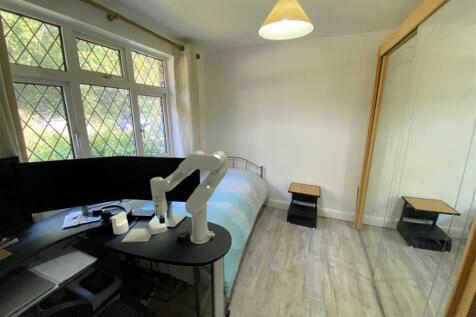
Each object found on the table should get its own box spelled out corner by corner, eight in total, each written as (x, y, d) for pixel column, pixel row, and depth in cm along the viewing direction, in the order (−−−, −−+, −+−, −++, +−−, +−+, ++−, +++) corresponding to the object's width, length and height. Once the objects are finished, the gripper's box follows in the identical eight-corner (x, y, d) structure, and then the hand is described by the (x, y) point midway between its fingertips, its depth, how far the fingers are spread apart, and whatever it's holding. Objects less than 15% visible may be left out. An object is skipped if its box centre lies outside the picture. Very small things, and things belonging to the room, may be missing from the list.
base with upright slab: (121, 225, 142) (119, 210, 139) (131, 227, 140) (129, 212, 137) (110, 233, 134) (107, 217, 131) (121, 235, 131) (118, 218, 129)
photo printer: (167, 231, 135) (162, 223, 145) (167, 225, 135) (162, 218, 144) (151, 235, 129) (147, 227, 139) (151, 229, 129) (147, 221, 138)
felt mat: (155, 228, 138) (155, 228, 138) (147, 241, 125) (147, 240, 125) (132, 229, 138) (132, 228, 138) (121, 242, 124) (121, 241, 124)
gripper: (160, 201, 117) (164, 229, 122) (168, 191, 132) (171, 216, 136) (148, 202, 117) (152, 229, 121) (157, 192, 132) (160, 217, 136)
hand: (162, 222), depth 129 cm, fingers closed
